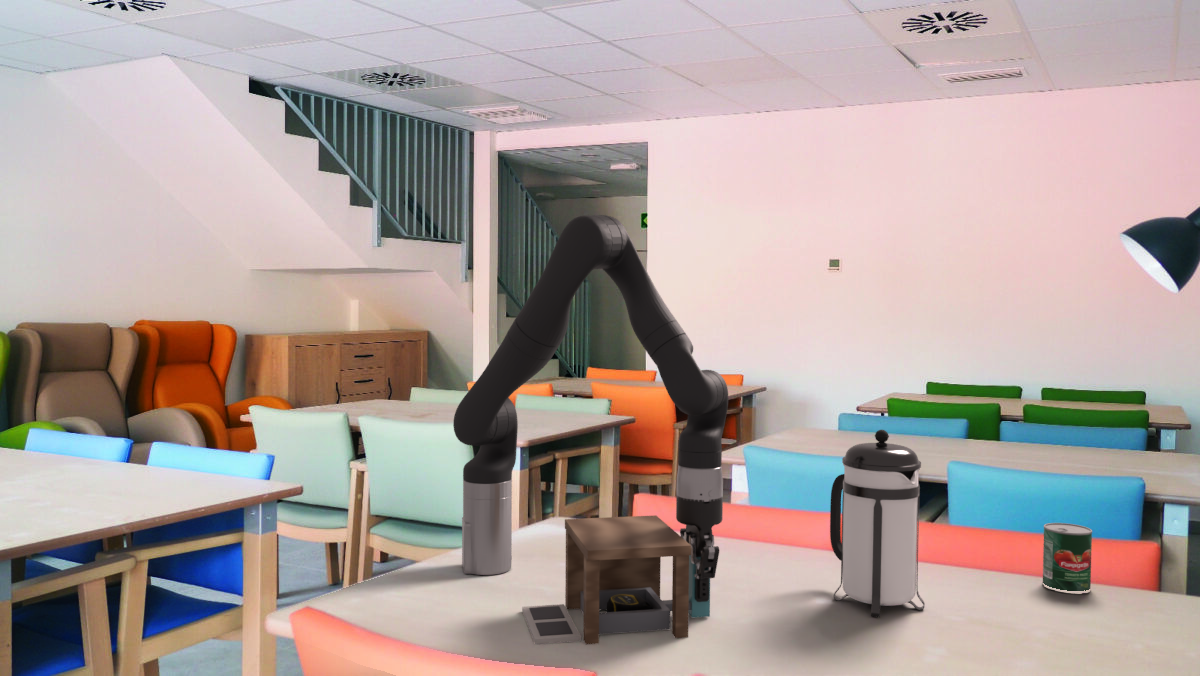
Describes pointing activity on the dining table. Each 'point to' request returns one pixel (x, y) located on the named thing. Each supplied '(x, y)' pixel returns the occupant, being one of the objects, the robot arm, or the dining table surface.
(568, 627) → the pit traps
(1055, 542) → the canned tomato
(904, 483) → the coffee press
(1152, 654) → the dining table surface
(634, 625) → the slider
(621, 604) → the tape measure
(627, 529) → the small wooden table
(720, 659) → the dining table surface
